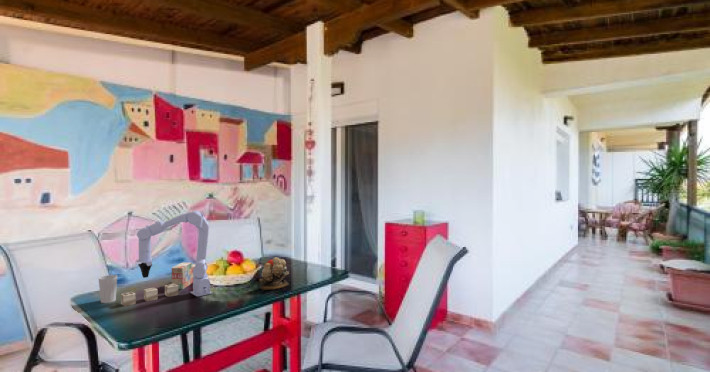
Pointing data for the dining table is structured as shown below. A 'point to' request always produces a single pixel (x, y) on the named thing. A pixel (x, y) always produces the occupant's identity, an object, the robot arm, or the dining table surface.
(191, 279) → the stack of blocks
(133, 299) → the dotted block
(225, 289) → the dining table surface
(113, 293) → the cup
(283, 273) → the brown lumpy figurine
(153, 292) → the plain block
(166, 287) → the dotted block
